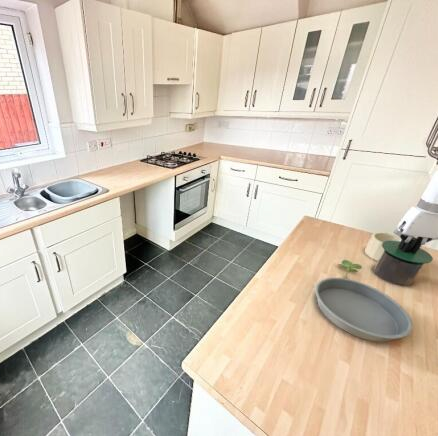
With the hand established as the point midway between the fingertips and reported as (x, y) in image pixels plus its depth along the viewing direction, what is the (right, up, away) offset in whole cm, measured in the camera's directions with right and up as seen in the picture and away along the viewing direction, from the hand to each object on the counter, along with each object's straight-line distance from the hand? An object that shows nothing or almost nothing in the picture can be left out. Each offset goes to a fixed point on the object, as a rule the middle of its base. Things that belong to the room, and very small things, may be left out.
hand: (406, 250), depth 90 cm
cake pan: (-27, -20, -9) cm, 35 cm away
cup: (0, -11, +6) cm, 12 cm away
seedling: (-17, -10, +8) cm, 21 cm away
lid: (0, -1, 0) cm, 1 cm away
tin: (+7, -5, +17) cm, 19 cm away
